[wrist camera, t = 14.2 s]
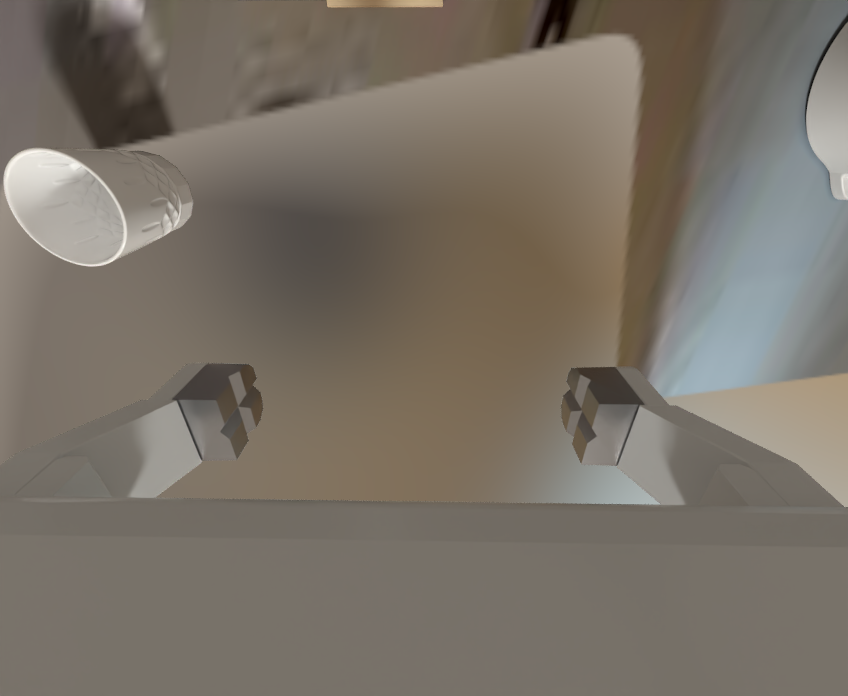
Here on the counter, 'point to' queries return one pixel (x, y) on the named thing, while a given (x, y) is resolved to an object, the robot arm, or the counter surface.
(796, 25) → the counter surface
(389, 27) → the counter surface
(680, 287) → the counter surface
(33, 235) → the white cup
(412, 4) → the pad
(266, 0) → the chain end
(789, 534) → the robot arm
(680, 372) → the counter surface
